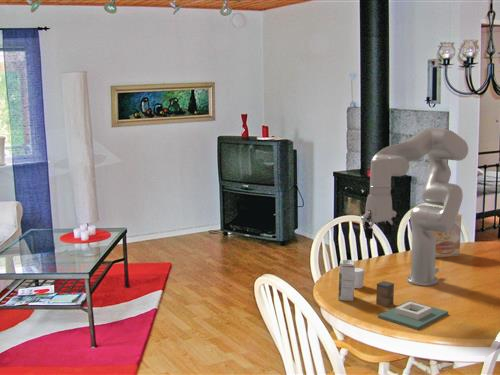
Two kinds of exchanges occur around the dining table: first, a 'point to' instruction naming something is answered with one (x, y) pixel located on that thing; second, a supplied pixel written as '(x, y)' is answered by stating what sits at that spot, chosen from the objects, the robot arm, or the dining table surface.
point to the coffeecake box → (449, 240)
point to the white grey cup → (359, 277)
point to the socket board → (413, 314)
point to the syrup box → (346, 280)
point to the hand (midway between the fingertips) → (378, 236)
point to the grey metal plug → (385, 293)
